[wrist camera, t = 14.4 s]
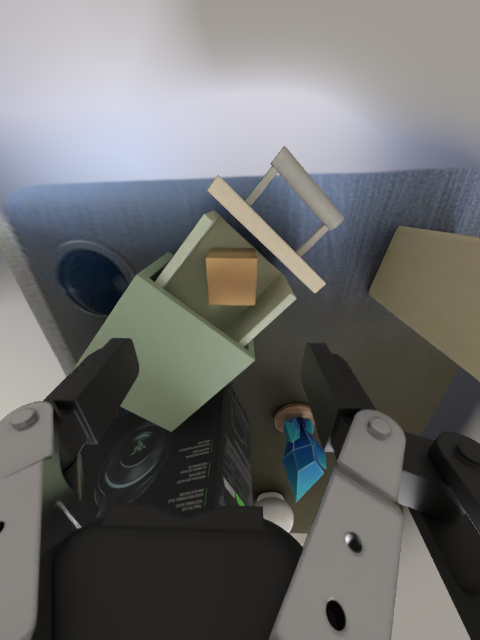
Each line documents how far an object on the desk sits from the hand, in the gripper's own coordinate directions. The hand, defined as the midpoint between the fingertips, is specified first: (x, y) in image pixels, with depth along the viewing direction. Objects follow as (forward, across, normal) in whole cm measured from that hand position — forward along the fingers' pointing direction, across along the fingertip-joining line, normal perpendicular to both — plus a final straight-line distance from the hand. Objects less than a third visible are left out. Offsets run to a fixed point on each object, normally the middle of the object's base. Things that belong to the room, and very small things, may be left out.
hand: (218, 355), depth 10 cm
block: (+15, 0, 0) cm, 15 cm away
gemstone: (+17, -10, +26) cm, 33 cm away
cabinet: (+17, +7, +8) cm, 20 cm away
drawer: (+16, -1, -1) cm, 16 cm away
